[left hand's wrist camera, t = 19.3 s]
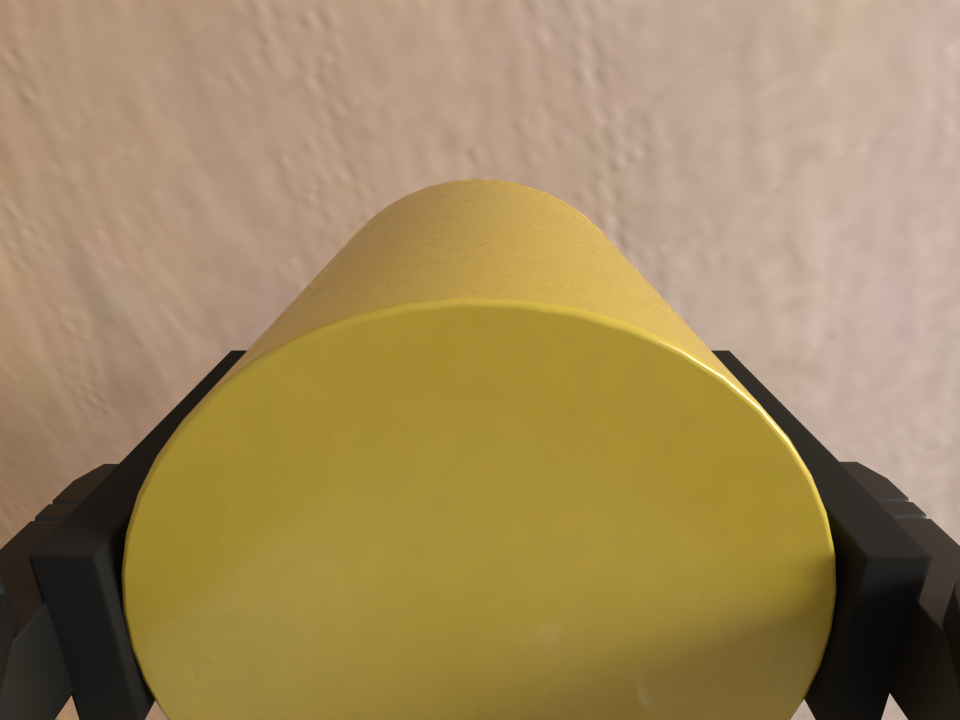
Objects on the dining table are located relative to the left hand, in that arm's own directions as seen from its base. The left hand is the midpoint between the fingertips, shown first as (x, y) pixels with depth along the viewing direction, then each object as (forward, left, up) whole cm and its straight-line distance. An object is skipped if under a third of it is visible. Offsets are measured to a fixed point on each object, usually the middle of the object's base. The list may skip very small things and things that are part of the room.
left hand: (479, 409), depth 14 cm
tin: (0, 0, -4) cm, 4 cm away
